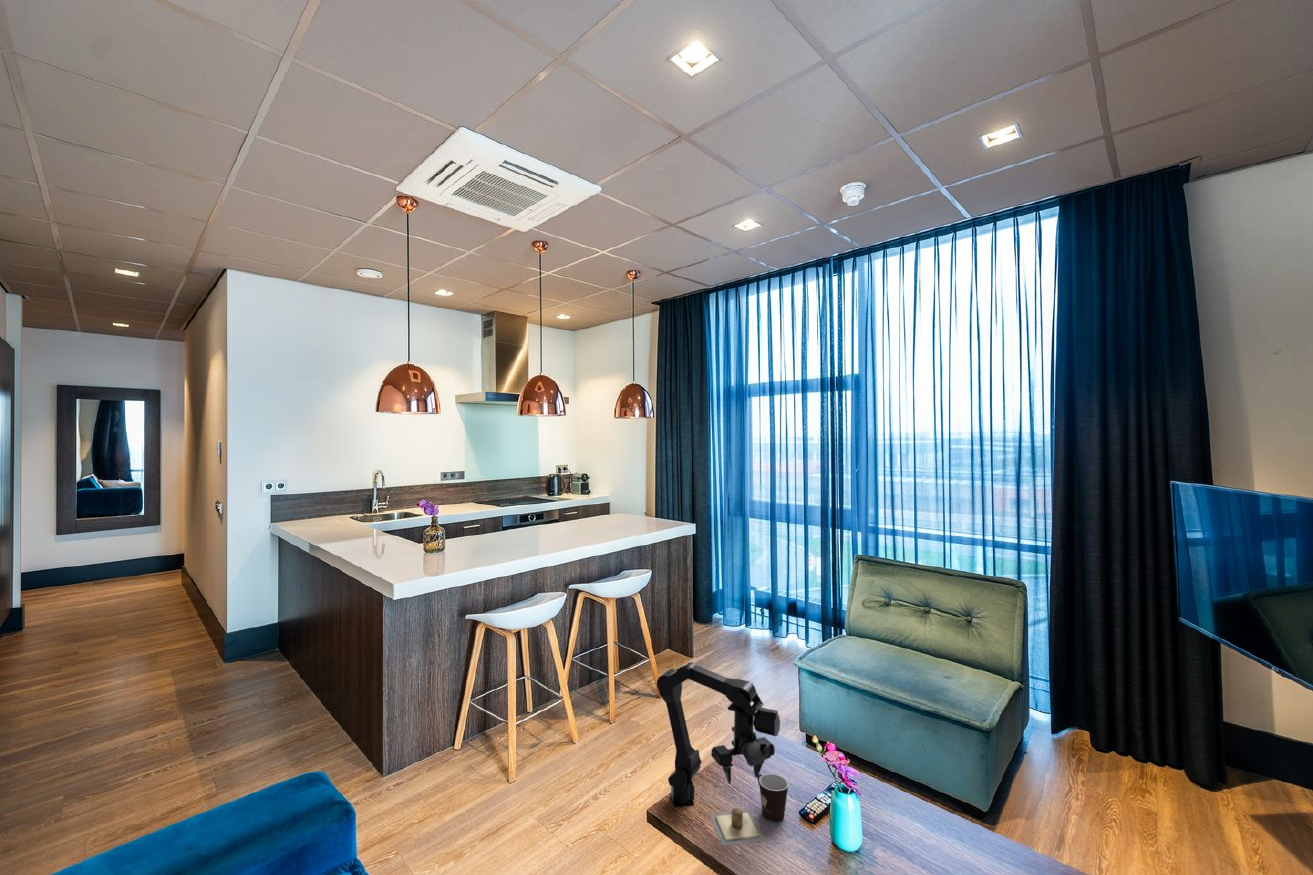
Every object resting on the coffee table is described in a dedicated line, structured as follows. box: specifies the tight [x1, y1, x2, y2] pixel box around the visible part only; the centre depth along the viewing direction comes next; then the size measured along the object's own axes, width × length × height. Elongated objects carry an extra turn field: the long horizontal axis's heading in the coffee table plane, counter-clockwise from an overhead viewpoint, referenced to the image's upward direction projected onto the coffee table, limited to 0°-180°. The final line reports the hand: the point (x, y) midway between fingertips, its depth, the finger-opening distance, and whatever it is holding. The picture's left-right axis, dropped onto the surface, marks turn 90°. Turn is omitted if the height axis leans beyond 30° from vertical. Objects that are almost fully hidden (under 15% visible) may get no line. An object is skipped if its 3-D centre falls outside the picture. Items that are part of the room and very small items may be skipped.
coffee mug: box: [757, 773, 789, 823], centre depth 168 cm, size 12×9×10 cm
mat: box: [709, 810, 767, 847], centre depth 160 cm, size 13×13×1 cm
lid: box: [716, 807, 760, 841], centre depth 160 cm, size 10×10×4 cm
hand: (742, 779), depth 163 cm, fingers open, 9 cm apart
